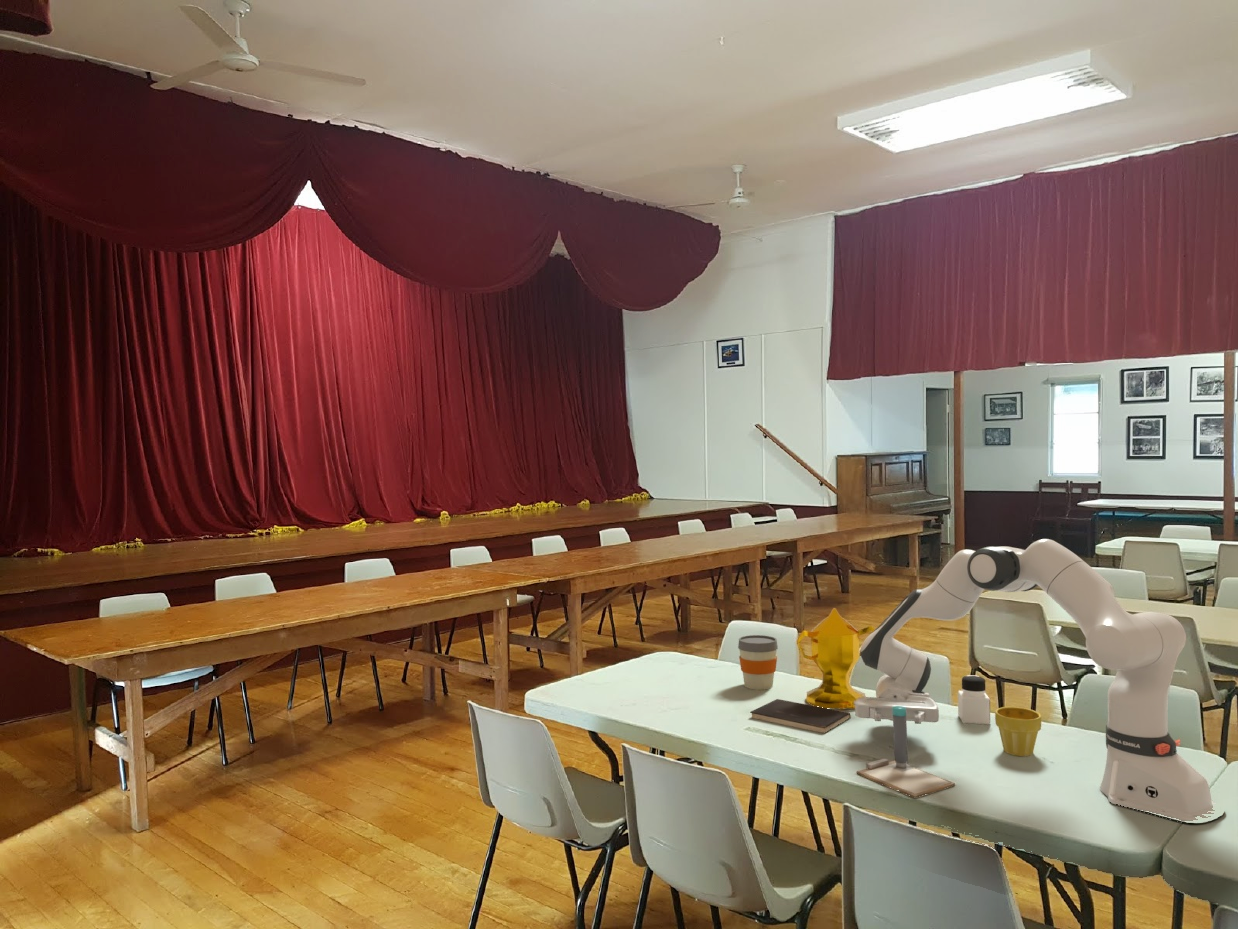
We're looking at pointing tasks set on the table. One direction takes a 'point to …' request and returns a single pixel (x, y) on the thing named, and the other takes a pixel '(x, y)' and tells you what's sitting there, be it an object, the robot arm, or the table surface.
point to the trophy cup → (834, 661)
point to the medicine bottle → (973, 701)
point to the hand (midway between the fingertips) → (897, 719)
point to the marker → (900, 736)
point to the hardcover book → (800, 715)
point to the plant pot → (1018, 729)
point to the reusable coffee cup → (758, 660)
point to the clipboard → (904, 778)
